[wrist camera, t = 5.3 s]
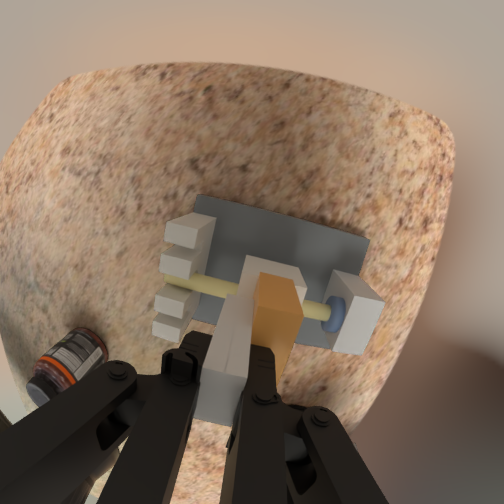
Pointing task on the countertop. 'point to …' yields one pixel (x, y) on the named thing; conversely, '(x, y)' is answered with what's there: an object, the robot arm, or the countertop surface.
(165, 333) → the cord board
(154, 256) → the countertop surface
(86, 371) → the supplement bottle
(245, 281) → the sleeve
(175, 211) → the countertop surface
